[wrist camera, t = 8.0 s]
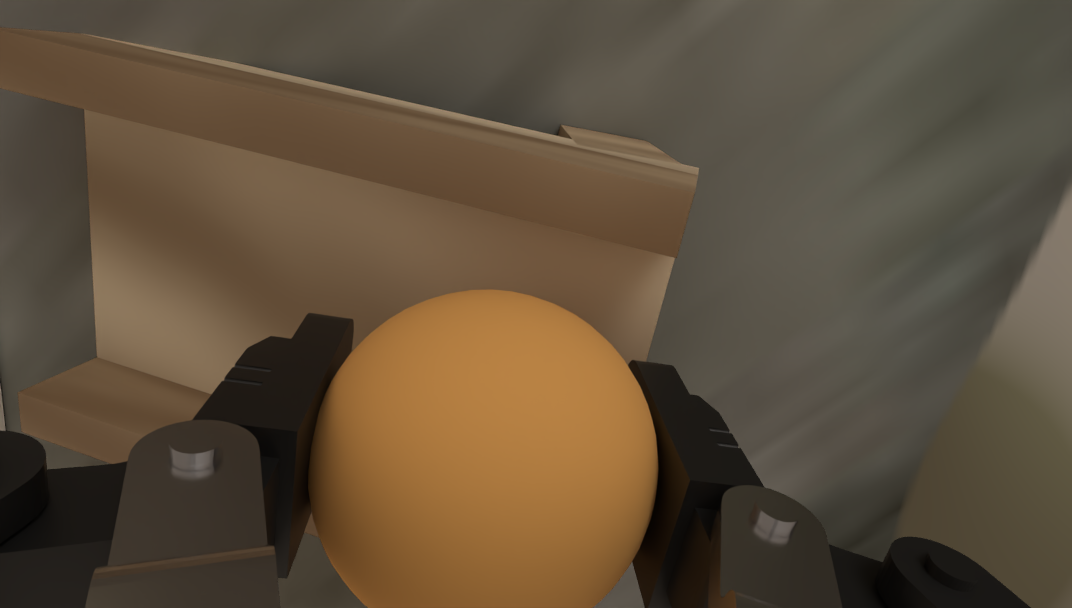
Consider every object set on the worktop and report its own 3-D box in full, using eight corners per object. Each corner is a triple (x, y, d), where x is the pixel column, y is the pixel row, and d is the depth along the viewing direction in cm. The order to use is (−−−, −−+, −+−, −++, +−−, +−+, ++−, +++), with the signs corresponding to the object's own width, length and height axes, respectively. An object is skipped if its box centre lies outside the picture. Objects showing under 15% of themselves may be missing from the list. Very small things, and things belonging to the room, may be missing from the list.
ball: (359, 224, 11) (266, 363, 6) (651, 271, 12) (761, 428, 7) (334, 475, 13) (248, 728, 8) (589, 503, 13) (644, 751, 9)
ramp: (73, 27, 14) (-254, 21, 8) (650, 137, 16) (756, 204, 10) (92, 371, 17) (-137, 565, 11) (577, 433, 19) (621, 632, 13)
